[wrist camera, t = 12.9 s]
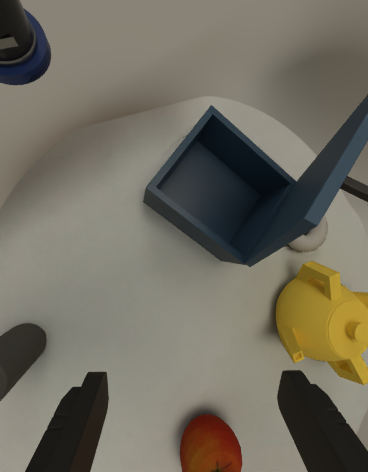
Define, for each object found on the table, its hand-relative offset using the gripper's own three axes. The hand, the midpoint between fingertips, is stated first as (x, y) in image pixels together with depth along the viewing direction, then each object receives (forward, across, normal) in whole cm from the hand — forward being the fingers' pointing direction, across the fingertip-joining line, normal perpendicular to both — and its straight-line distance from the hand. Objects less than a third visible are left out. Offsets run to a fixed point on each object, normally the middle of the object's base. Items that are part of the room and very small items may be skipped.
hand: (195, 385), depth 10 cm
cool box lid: (+16, -13, -8) cm, 22 cm away
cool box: (+33, -5, -6) cm, 34 cm away
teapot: (+29, -26, +16) cm, 42 cm away
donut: (+34, -25, 0) cm, 43 cm away
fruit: (+20, -5, +34) cm, 40 cm away
